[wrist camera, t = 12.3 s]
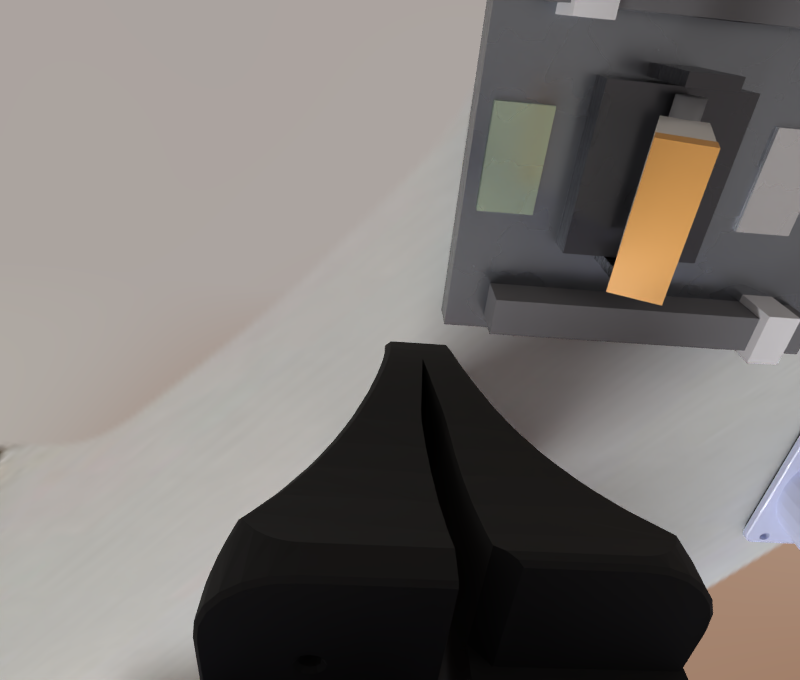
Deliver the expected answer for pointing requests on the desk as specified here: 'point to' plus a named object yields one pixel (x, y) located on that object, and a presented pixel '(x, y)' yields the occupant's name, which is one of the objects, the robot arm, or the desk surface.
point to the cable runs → (678, 316)
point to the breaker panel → (623, 153)
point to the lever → (665, 201)
